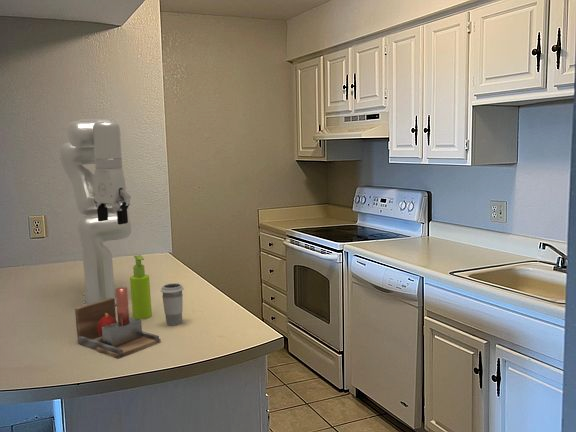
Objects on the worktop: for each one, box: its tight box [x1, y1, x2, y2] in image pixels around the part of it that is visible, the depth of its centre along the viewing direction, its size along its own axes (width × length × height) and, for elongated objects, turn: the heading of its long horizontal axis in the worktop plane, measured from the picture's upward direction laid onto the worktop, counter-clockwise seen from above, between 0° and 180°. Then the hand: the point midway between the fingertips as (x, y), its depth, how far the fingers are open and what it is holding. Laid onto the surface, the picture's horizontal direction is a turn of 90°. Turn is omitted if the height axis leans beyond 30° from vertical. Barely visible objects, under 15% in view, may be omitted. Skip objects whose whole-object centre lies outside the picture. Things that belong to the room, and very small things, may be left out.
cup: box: [160, 282, 185, 327], centre depth 172 cm, size 7×7×12 cm
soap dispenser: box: [129, 254, 153, 320], centre depth 179 cm, size 6×7×20 cm
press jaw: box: [102, 286, 143, 347], centre depth 155 cm, size 5×10×15 cm, turn 142°
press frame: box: [74, 298, 162, 359], centre depth 157 cm, size 20×14×10 cm
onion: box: [97, 313, 118, 338], centre depth 159 cm, size 6×6×8 cm
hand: (112, 222), depth 167 cm, fingers open, 9 cm apart
